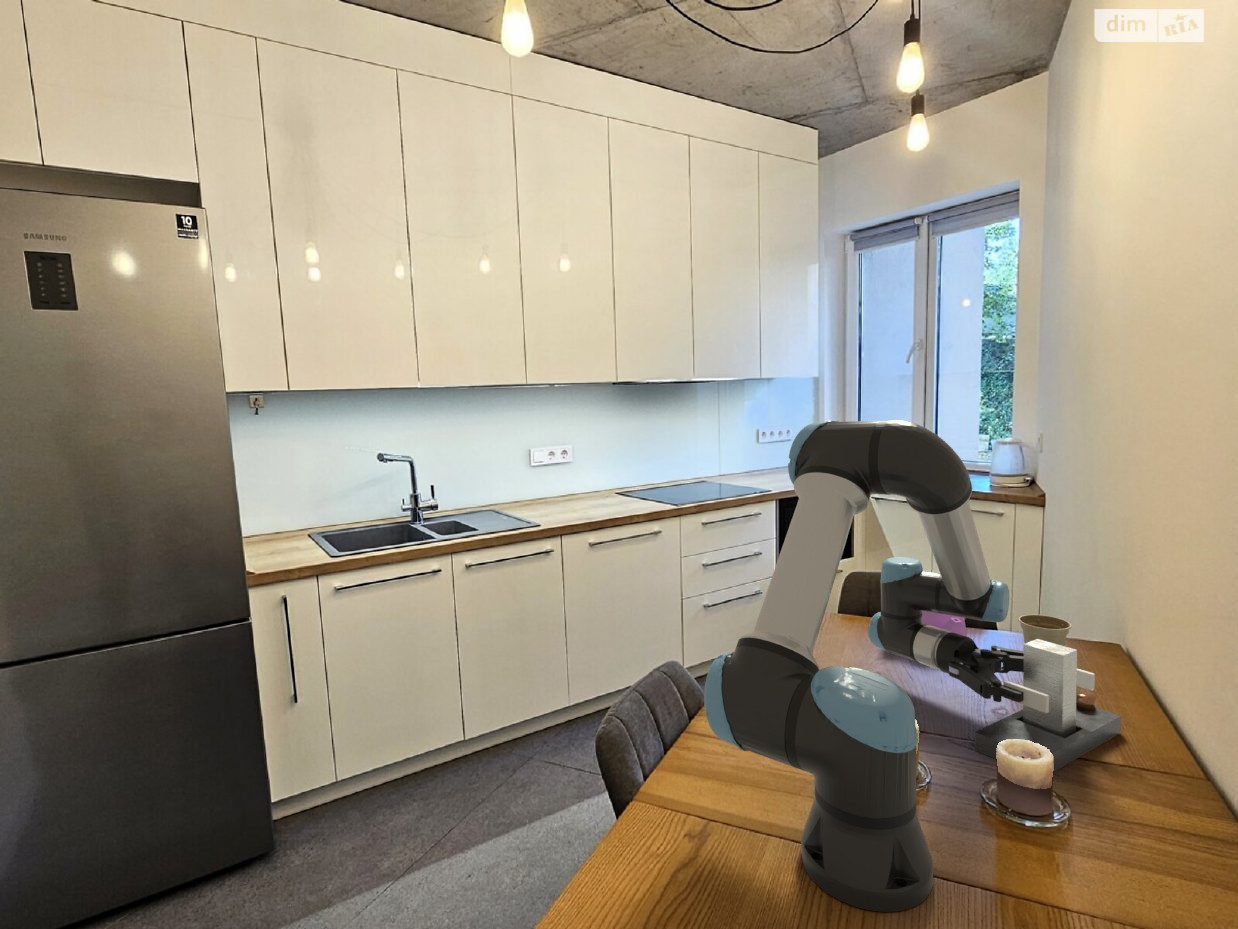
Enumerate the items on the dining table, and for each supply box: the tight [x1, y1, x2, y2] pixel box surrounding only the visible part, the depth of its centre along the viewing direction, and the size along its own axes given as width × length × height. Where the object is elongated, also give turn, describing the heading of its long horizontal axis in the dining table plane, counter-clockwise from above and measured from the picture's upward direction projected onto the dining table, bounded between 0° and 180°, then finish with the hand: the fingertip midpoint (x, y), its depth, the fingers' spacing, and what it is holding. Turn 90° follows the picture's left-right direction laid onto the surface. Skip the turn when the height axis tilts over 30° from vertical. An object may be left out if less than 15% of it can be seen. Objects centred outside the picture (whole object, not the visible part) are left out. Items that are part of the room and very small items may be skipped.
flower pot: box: [1017, 614, 1073, 647], centre depth 136 cm, size 9×9×9 cm
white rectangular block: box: [1022, 639, 1078, 738], centre depth 105 cm, size 4×6×16 cm, turn 29°
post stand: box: [974, 690, 1122, 772], centre depth 105 cm, size 25×10×5 cm, turn 119°
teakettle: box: [922, 611, 968, 637], centre depth 148 cm, size 17×17×12 cm
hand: (1071, 693), depth 102 cm, fingers open, 13 cm apart
